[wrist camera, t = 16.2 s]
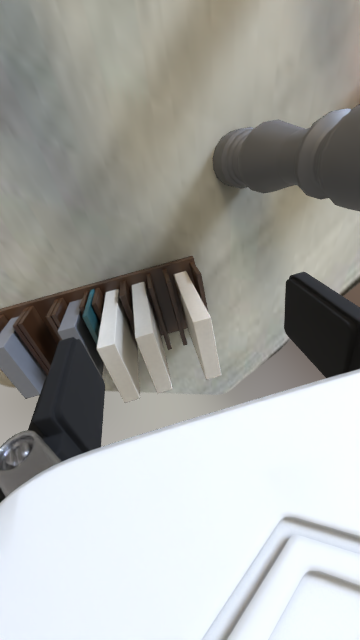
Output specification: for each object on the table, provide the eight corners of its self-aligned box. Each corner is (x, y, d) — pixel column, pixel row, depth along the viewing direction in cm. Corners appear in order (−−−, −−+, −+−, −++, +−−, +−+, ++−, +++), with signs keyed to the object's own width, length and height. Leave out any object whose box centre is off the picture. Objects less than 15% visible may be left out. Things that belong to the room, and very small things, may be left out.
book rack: (40, 366, 45) (22, 408, 37) (-1, 309, 38) (-33, 345, 31) (205, 319, 46) (220, 351, 38) (192, 255, 39) (207, 278, 32)
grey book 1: (41, 362, 43) (25, 398, 36) (10, 318, 38) (-15, 351, 32) (54, 358, 43) (40, 394, 36) (25, 314, 38) (3, 346, 32)
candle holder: (242, 194, 36) (405, 240, 15) (204, 172, 34) (332, 191, 13) (267, 146, 33) (507, 119, 12) (228, 119, 31) (438, 29, 10)
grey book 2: (93, 347, 43) (87, 381, 37) (69, 302, 38) (57, 331, 32) (106, 343, 43) (102, 377, 37) (83, 298, 39) (74, 326, 32)
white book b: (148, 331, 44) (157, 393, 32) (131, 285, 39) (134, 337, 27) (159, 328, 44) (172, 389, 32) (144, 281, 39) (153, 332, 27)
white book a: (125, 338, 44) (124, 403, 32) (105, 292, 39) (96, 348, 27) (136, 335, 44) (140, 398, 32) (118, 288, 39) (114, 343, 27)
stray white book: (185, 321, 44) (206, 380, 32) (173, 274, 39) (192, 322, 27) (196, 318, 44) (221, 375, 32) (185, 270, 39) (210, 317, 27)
